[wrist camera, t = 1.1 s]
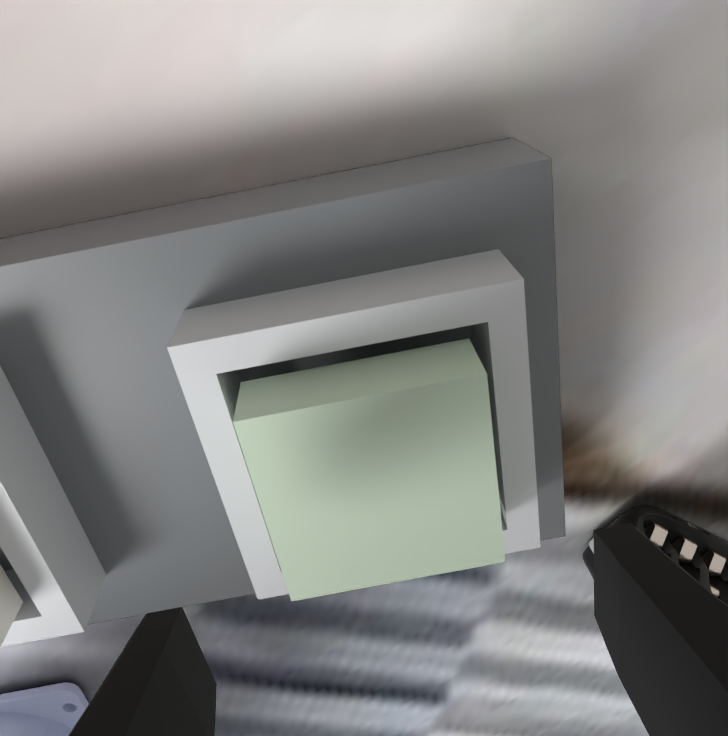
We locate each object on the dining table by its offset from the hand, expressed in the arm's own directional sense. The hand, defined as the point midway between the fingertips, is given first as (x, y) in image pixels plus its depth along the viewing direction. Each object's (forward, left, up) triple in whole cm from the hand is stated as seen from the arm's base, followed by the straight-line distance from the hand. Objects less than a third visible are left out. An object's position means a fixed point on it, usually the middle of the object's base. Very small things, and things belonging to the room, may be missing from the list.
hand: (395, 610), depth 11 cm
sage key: (0, 0, -5) cm, 5 cm away
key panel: (0, +6, -9) cm, 11 cm away
